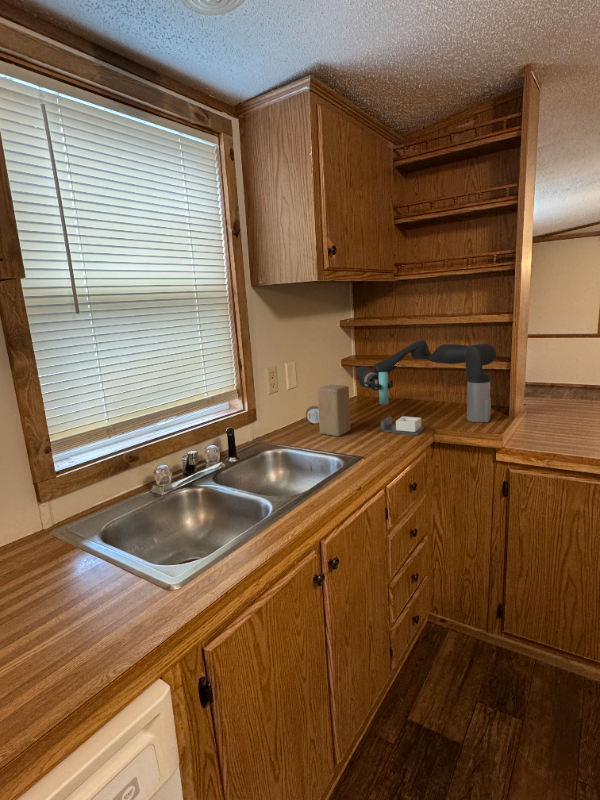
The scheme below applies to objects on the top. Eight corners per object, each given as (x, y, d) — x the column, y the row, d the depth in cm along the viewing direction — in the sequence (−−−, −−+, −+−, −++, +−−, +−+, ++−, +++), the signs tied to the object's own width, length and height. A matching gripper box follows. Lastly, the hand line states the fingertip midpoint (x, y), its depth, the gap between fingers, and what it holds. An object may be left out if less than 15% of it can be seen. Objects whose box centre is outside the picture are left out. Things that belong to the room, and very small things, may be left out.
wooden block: (338, 437, 185) (336, 389, 181) (318, 434, 191) (316, 388, 187) (351, 431, 193) (349, 385, 189) (331, 428, 199) (329, 384, 195)
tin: (338, 422, 209) (337, 404, 208) (338, 423, 206) (337, 405, 205) (306, 423, 211) (305, 405, 209) (305, 424, 208) (304, 407, 206)
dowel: (389, 402, 202) (389, 371, 200) (386, 404, 199) (385, 373, 196) (381, 402, 205) (380, 371, 202) (378, 404, 201) (377, 373, 199)
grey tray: (423, 429, 188) (423, 419, 187) (417, 435, 181) (417, 424, 180) (388, 426, 197) (388, 416, 196) (380, 431, 189) (380, 421, 188)
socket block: (421, 427, 188) (421, 417, 187) (415, 432, 182) (415, 422, 181) (402, 425, 192) (402, 416, 192) (396, 430, 186) (395, 420, 185)
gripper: (359, 374, 213) (369, 379, 196) (388, 372, 214) (401, 377, 198) (359, 390, 214) (370, 396, 197) (388, 387, 216) (401, 393, 199)
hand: (385, 386), depth 198 cm, fingers closed on dowel, 4 cm apart
